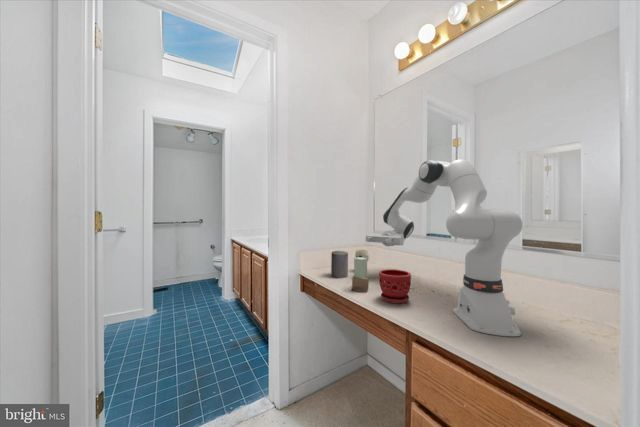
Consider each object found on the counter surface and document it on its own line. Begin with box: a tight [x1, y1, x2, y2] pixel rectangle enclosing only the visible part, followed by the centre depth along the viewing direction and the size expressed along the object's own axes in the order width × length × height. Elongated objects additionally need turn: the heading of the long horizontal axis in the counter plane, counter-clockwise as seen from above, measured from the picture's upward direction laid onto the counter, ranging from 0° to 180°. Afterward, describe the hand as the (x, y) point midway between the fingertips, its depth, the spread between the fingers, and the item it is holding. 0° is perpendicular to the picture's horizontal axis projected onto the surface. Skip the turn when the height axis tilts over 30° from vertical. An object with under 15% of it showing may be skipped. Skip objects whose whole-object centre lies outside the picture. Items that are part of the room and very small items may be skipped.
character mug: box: [354, 249, 369, 261], centre depth 155 cm, size 11×7×13 cm, turn 35°
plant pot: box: [378, 269, 412, 304], centre depth 108 cm, size 13×13×12 cm
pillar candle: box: [330, 249, 349, 279], centre depth 145 cm, size 10×10×15 cm
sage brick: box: [353, 257, 368, 279], centre depth 122 cm, size 4×4×9 cm
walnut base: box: [351, 274, 370, 293], centre depth 122 cm, size 7×7×6 cm
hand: (377, 240), depth 132 cm, fingers open, 8 cm apart
